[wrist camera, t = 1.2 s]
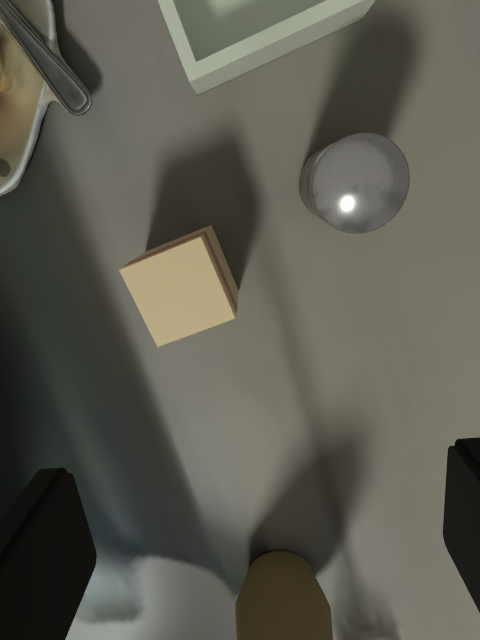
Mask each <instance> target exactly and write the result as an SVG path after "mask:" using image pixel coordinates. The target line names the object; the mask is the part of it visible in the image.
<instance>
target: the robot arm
mask: <svg viewBox="0 0 480 640" xmlns="http://www.w3.org/2000/svg"><path fill="white" fill-rule="evenodd" d="M443 537H444V542H445V545H446V547H447V550H448V552H449V554H450V556H451V558H452V560H453V561H454V563H455V565H456V567H457V569H458V571H459V573H460V575H461V577H462V579H463V581H464V583H465V585H466V587H467V589H468V591H469V593H470V595H471V596H472V598H473V600H474V602H475V604H476V606H477V608H478V610H479V612H480V438H466V439H458V440H456V442H455V446H450V447H449V448H448V457H447V474H446V490H445V506H444V522H443ZM95 565H96V549H95V546H94V543H93V539H92V536H91V533H90V529H89V526H88V523H87V519H86V516H85V513H84V509H83V506H82V503H81V499H80V496H79V493H78V489H77V486H76V483H75V479H74V477H73V475H72V474H71V473H67V470H66V469H65V468H48V469H41V470H39V471H38V472H37V473H36V474H35V475H34V477H33V478H32V479H31V481H30V482H29V483H28V485H27V486H26V487H25V489H24V490H23V491H22V493H21V494H20V495H19V497H18V498H17V500H16V501H15V502H14V504H13V505H12V506H11V508H10V509H9V510H8V512H7V513H6V514H5V516H4V517H3V518H2V520H1V521H0V640H65V638H66V636H67V634H68V631H69V628H70V626H71V624H72V622H73V619H74V617H75V614H76V612H77V609H78V607H79V605H80V602H81V600H82V597H83V595H84V592H85V590H86V588H87V585H88V583H89V580H90V578H91V575H92V573H93V571H94V568H95Z"/></svg>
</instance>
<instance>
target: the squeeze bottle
mask: <svg viewBox="0 0 480 640" xmlns="http://www.w3.org/2000/svg"><path fill="white" fill-rule="evenodd" d="M235 619H236V635H237V640H333V635H332V622H331V610H330V606H329V603H328V601H327V599H326V597H325V594H324V593H323V591H322V589H321V587H320V585H319V583H318V581H317V579H316V578H315V576H314V574H313V572H312V570H311V568H310V566H309V564H308V563H307V562H306V561H305V560H304V559H303V558H301V557H300V556H299V555H296V554H293V553H290V552H285V551H274V552H270V553H266V554H263V555H261V556H260V557H259V558H257V559H256V560H254V561H253V563H252V565H251V566H250V568H249V570H248V572H247V575H246V578H245V580H244V583H243V586H242V588H241V591H240V593H239V596H238V599H237V601H236V611H235Z"/></svg>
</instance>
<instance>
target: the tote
mask: <svg viewBox="0 0 480 640" xmlns="http://www.w3.org/2000/svg"><path fill="white" fill-rule="evenodd" d="M158 2H159V5H160V7H161V10H162V13H163V15H164V18H165V20H166V23H167V26H168V28H169V31H170V33H171V36H172V39H173V41H174V44H175V46H176V49H177V51H178V54H179V57H180V59H181V62H182V64H183V67H184V70H185V72H186V75H187V77H188V80H189V82H190V84H191V85H192V87H193V88H194V90H195V91H196V93H197V94H201V93H203V92H205V91H207V90H209V89H211V88H214V87H216V86H218V85H220V84H222V83H224V82H227V81H229V80H231V79H233V78H235V77H237V76H240V75H242V74H244V73H246V72H248V71H250V70H253V69H255V68H257V67H259V66H261V65H263V64H266V63H268V62H270V61H272V60H274V59H276V58H278V57H281V56H283V55H285V54H287V53H289V52H291V51H294V50H296V49H298V48H300V47H302V46H304V45H307V44H309V43H311V42H313V41H315V40H317V39H320V38H322V37H324V36H326V35H328V34H330V33H333V32H335V31H337V30H339V29H341V28H343V27H346V26H348V25H350V24H352V23H354V22H356V21H359V20H361V19H363V17H364V16H365V14H366V13H367V12H368V10H369V9H370V7H371V6H372V4H373V3H374V2H375V0H158Z"/></svg>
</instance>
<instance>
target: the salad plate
mask: <svg viewBox="0 0 480 640" xmlns="http://www.w3.org/2000/svg"><path fill="white" fill-rule="evenodd" d="M51 101H57V102H58V103H60V104H61V105H62V106H63V108H64V109H65V110H66V111H67V112H68V113H70V114H73V115H75V116H80V115H83V114H85V113H86V112H87V111H88V110H89V109H90V107H91V105H92V98H91V94H90V92H89V91H88V89H87V88H86V87H85V85H84V84H83V83H82V82H81V81H80V79H79V78H78V77H77V76H76V75H75V73H74V72H73V71H72V70H71V69H70V67H69V66H68V65H67V64H66V62H65V61H64V59H63V58H62V56H61V54H60V51H59V47H58V41H57V33H56V22H55V13H54V5H53V3H52V0H0V196H2V195H3V194H6V193H8V192H10V191H12V190H14V189H15V188H16V187H17V186H18V184H19V182H20V180H21V178H22V177H23V175H24V173H25V170H26V167H27V165H28V163H29V160H30V158H31V155H32V153H33V150H34V147H35V144H36V141H37V138H38V135H39V131H40V126H41V122H42V119H43V117H44V115H45V113H46V110H47V107H48V105H49V104H50V103H51Z"/></svg>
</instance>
